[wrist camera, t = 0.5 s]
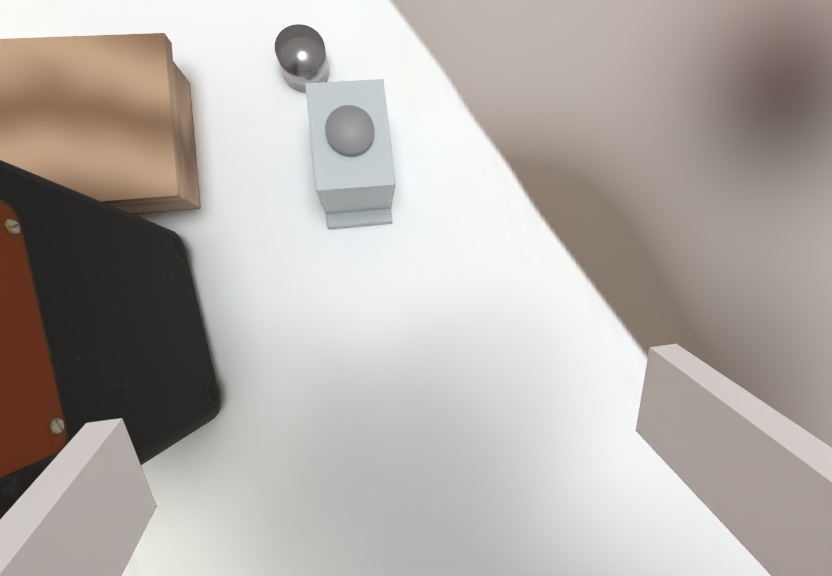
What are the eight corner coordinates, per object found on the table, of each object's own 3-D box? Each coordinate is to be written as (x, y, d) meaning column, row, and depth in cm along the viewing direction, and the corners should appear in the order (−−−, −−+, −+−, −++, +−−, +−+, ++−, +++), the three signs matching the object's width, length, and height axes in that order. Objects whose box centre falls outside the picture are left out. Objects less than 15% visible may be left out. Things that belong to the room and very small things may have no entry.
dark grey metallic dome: (330, 91, 34) (327, 70, 31) (285, 94, 33) (277, 72, 30) (326, 49, 34) (322, 23, 31) (281, 51, 34) (272, 25, 31)
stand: (207, 214, 32) (177, 195, 27) (52, 226, 31) (-9, 209, 26) (195, 76, 33) (164, 33, 28) (42, 83, 31) (-19, 39, 26)
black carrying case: (68, 246, 31) (-1185, -33, 6) (187, 219, 32) (-476, -117, 7) (115, 453, 30) (-1057, 1079, 6) (236, 420, 31) (-303, 826, 6)
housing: (391, 223, 34) (397, 196, 26) (328, 229, 33) (316, 202, 25) (379, 115, 34) (382, 56, 26) (317, 119, 34) (301, 60, 26)
